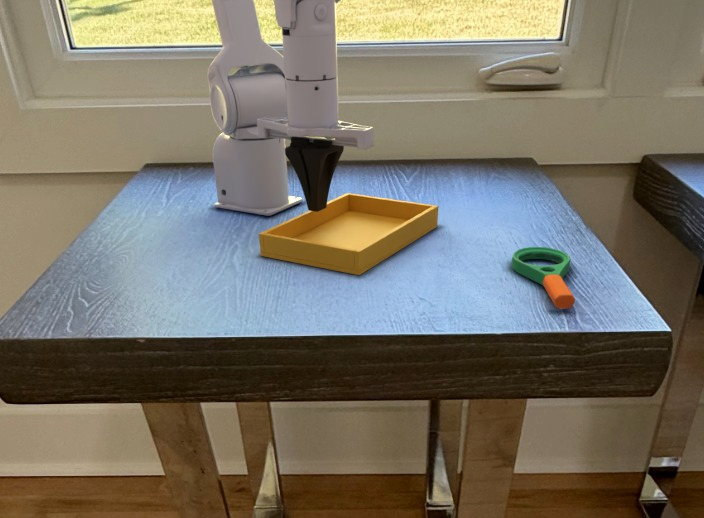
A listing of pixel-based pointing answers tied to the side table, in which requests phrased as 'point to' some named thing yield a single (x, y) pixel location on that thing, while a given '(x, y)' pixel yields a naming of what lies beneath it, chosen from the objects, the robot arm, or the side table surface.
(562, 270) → the magnifying glass
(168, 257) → the side table surface
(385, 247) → the tray
